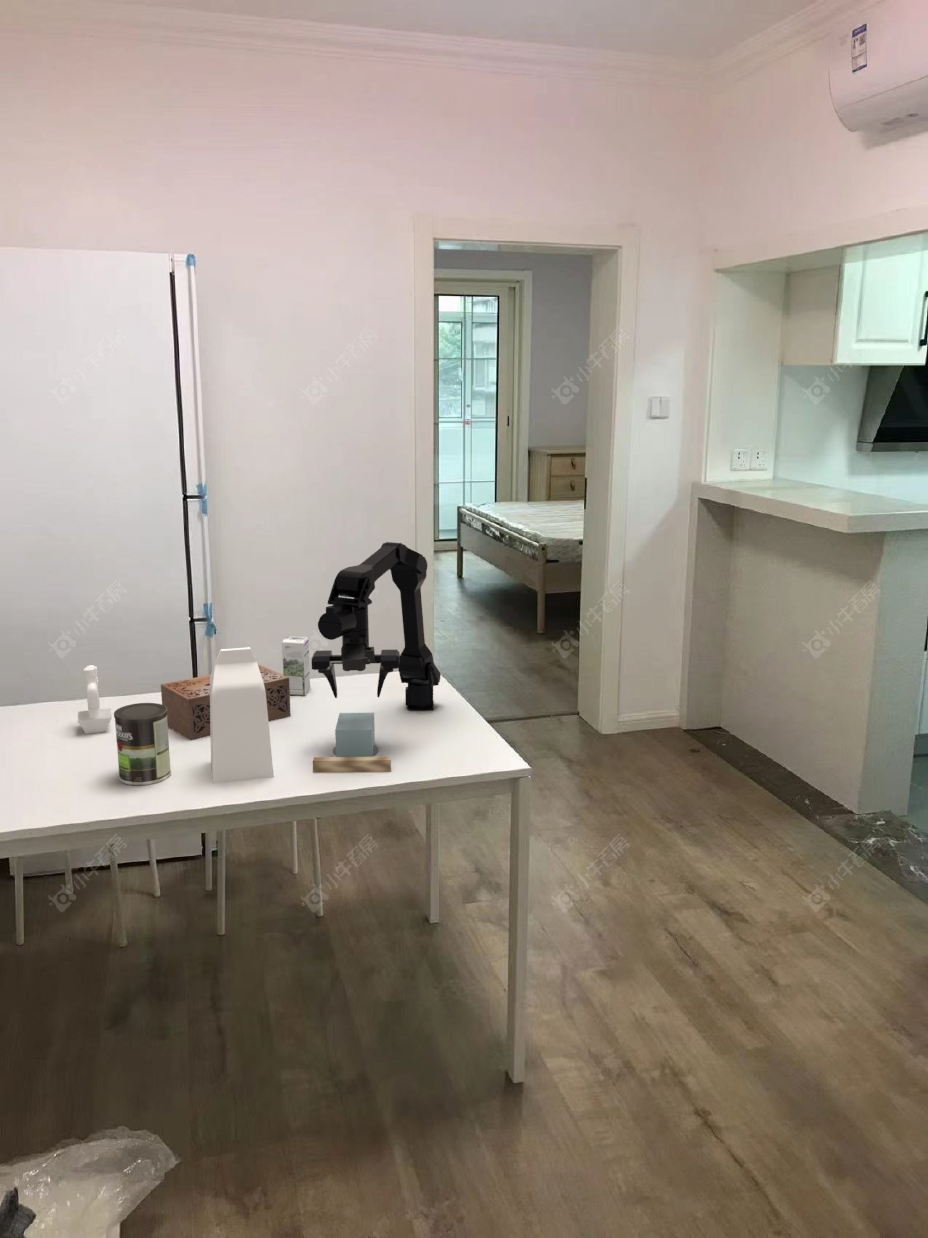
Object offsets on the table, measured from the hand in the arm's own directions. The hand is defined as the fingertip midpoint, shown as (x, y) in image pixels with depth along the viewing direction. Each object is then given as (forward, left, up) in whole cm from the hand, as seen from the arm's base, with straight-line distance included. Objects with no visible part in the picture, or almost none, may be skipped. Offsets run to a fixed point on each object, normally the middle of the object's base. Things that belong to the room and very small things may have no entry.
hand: (357, 697), depth 218 cm
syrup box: (+18, -40, -12) cm, 45 cm away
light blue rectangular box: (0, +2, -12) cm, 12 cm away
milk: (+23, +12, -12) cm, 29 cm away
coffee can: (+42, +15, -12) cm, 47 cm away
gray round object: (0, +2, -12) cm, 12 cm away
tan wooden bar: (0, +13, -12) cm, 18 cm away
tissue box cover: (+32, -19, -12) cm, 39 cm away
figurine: (+61, -13, -12) cm, 64 cm away
